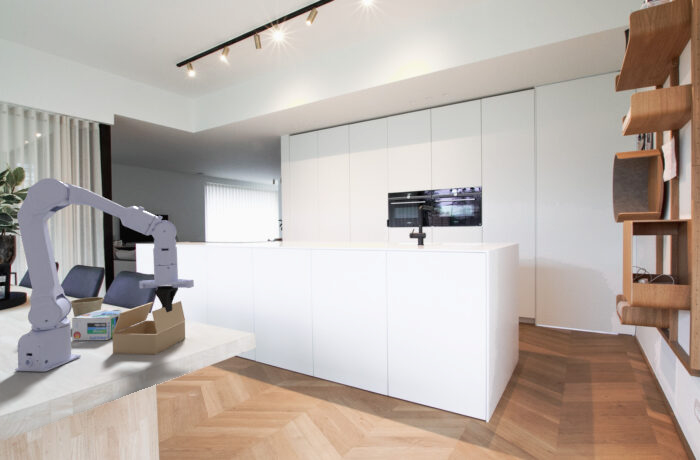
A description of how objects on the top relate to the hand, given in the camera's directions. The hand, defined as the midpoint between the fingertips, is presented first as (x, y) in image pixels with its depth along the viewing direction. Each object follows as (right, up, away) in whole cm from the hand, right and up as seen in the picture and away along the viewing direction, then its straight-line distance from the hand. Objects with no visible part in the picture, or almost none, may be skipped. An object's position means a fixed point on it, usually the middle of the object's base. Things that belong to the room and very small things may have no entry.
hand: (167, 314), depth 97 cm
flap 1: (-10, -1, +1) cm, 10 cm away
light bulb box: (-25, -6, +16) cm, 30 cm away
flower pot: (-38, -9, +21) cm, 44 cm away
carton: (-5, -9, 0) cm, 10 cm away
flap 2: (+1, -1, 0) cm, 1 cm away
